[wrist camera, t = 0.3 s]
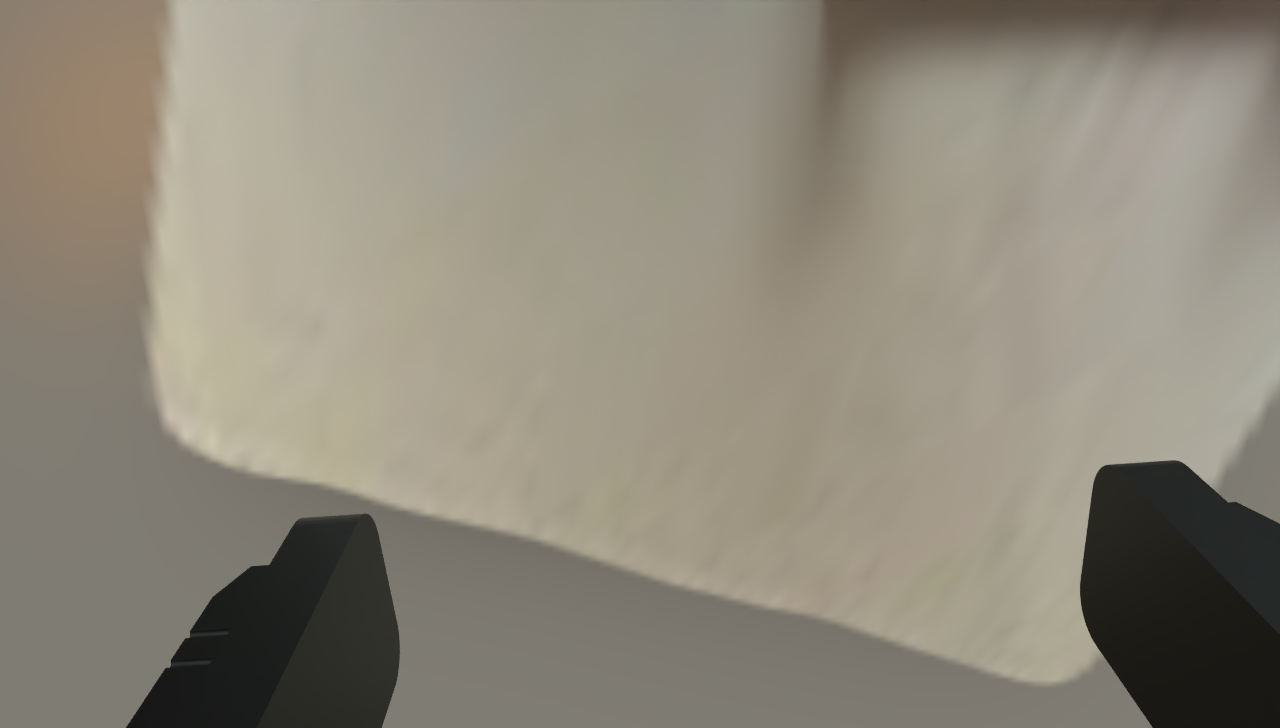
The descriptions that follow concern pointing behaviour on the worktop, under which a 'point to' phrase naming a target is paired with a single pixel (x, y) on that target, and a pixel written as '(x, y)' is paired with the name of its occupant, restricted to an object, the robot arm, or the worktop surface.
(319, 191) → the worktop surface
